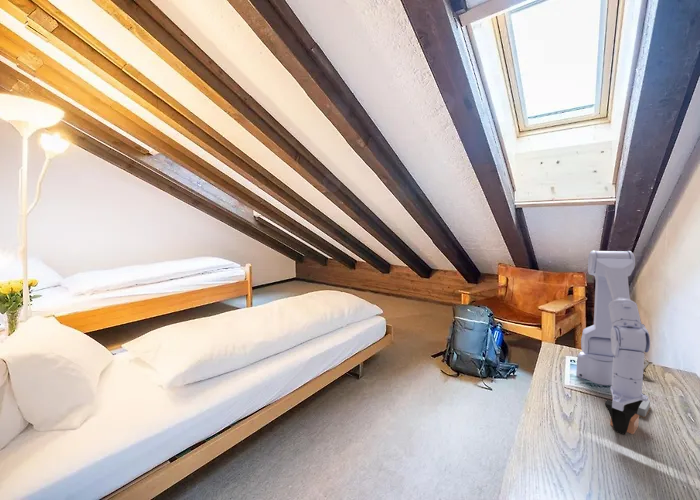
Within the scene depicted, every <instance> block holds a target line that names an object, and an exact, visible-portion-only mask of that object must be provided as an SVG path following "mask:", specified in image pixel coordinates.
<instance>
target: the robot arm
mask: <svg viewBox="0 0 700 500" xmlns="http://www.w3.org/2000/svg"><path fill="white" fill-rule="evenodd" d="M635 266H636V257H635V254H634V252H632V251H631V250H627V251H626V250H625V251H622V250H617V251H616V250H594V249H593V250H591V251H590V252H589V253H588V258H587V273H588V275H590V276H594V280H595V285H594V286H595V287H594V288H595V289H594V290H595V291H594V309H593V310H594V311H593V312H594V313H593V324H592V325H590V326H587V327H585V328H583V329H582V335H581V340H580V347H581V348H580V349H581V351H580V352H578V355H577V359H576V373H575V374H576V377H579V378H582V379H585V380H587V381H589V382H592V383H594V384H598V385H601V386H602V385H603V386H610V389H609V390H610V395H611V397H612V400H609V399H606V400H605V402H604V406H605V408H606V410H607V411H608V414H609V416H610V420H611V419H612V424H613V426H612V427H613V430H614V432H616V433H617V432H618V433H619V434H621V435H626V434H627V433H628V432H627V429H628V426H629V422H630V420H631V418H632V417H633V416H634V415H635V414H637V412H638V409H639V406H640V404H641V403H642V402H643V401H646V402H647V401H648V400H649V396H648V395H646V394H645V393H643V383H644V382H643V381H644V375H643V374H644V373H643V369H644V358H645V353H649V351H650V349H651V337H650V334H649V330H648V329H647V328H646V326H645V324H644V323H642V321H641V317H640V316H641V315H640V313H639V308H638V304H637V303H636V301H633V300H632V299H631V297H630V285H629V277H630V276H631V275H632V273H633V271H634V269H635Z"/></svg>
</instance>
